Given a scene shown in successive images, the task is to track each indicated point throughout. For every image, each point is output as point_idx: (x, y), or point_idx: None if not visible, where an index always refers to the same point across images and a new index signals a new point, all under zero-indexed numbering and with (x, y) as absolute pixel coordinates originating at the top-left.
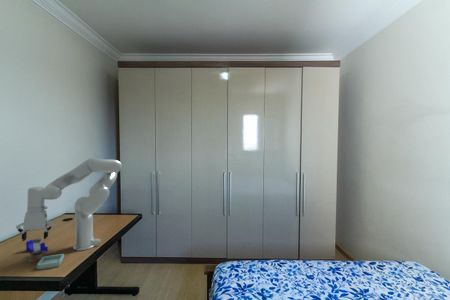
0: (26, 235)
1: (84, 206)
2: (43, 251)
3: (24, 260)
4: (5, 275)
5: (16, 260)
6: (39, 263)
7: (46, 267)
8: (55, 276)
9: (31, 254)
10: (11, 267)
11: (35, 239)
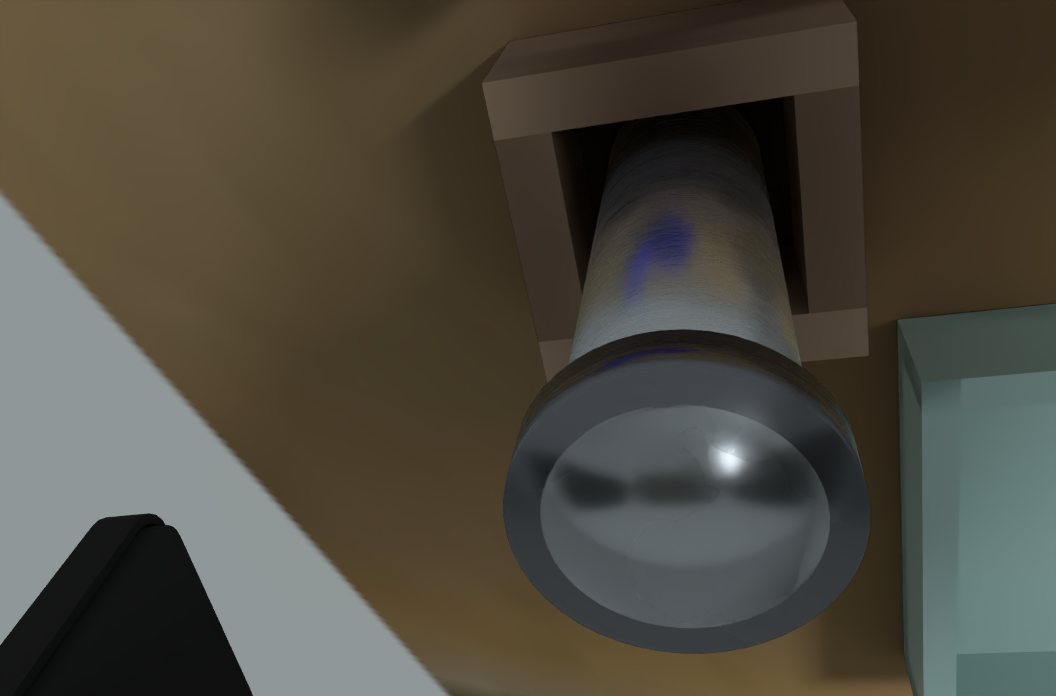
0: (73, 657)
1: None
2: (825, 98)
3: (407, 198)
4: (454, 687)
5: (209, 160)
6: (953, 664)
7: None
8: None
9: (547, 256)
10: (351, 461)
11: (590, 477)
